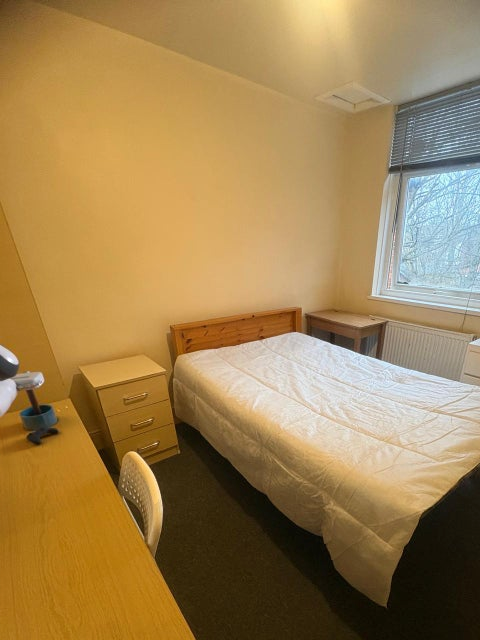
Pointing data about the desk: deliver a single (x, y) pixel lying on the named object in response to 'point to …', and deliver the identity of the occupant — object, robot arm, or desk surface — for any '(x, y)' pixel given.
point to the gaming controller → (40, 434)
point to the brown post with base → (34, 402)
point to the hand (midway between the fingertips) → (10, 375)
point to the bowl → (38, 417)
